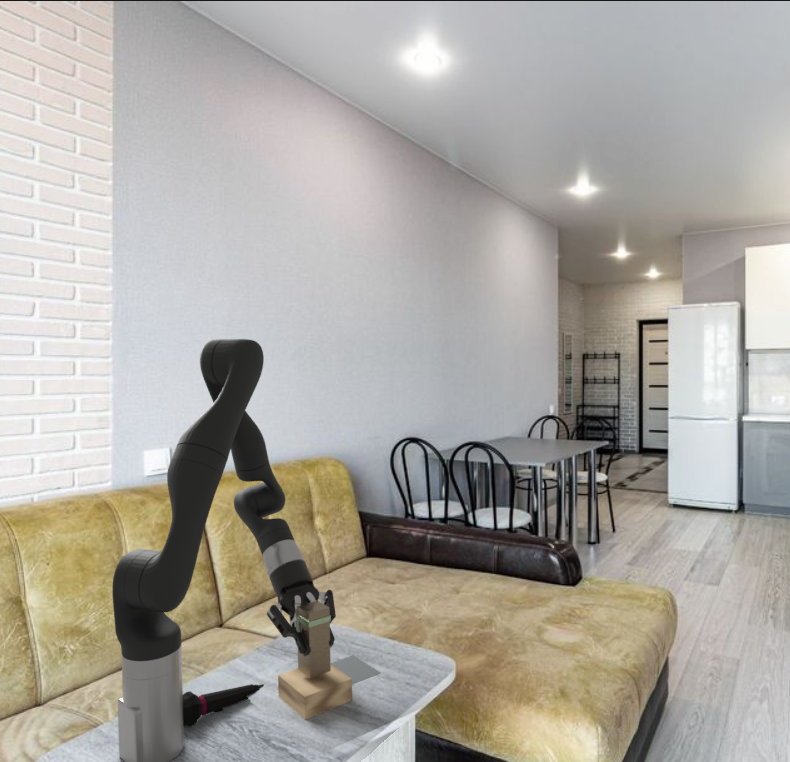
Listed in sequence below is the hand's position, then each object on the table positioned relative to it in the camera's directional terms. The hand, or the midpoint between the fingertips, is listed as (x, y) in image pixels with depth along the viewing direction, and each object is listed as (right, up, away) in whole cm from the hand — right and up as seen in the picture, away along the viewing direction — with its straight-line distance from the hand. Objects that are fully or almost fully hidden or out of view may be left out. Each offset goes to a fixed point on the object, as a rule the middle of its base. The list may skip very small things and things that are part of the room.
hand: (319, 649), depth 116 cm
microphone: (-18, -12, 0) cm, 21 cm away
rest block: (-1, -11, +2) cm, 11 cm away
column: (-1, -5, +2) cm, 5 cm away
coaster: (+4, -10, +12) cm, 16 cm away
